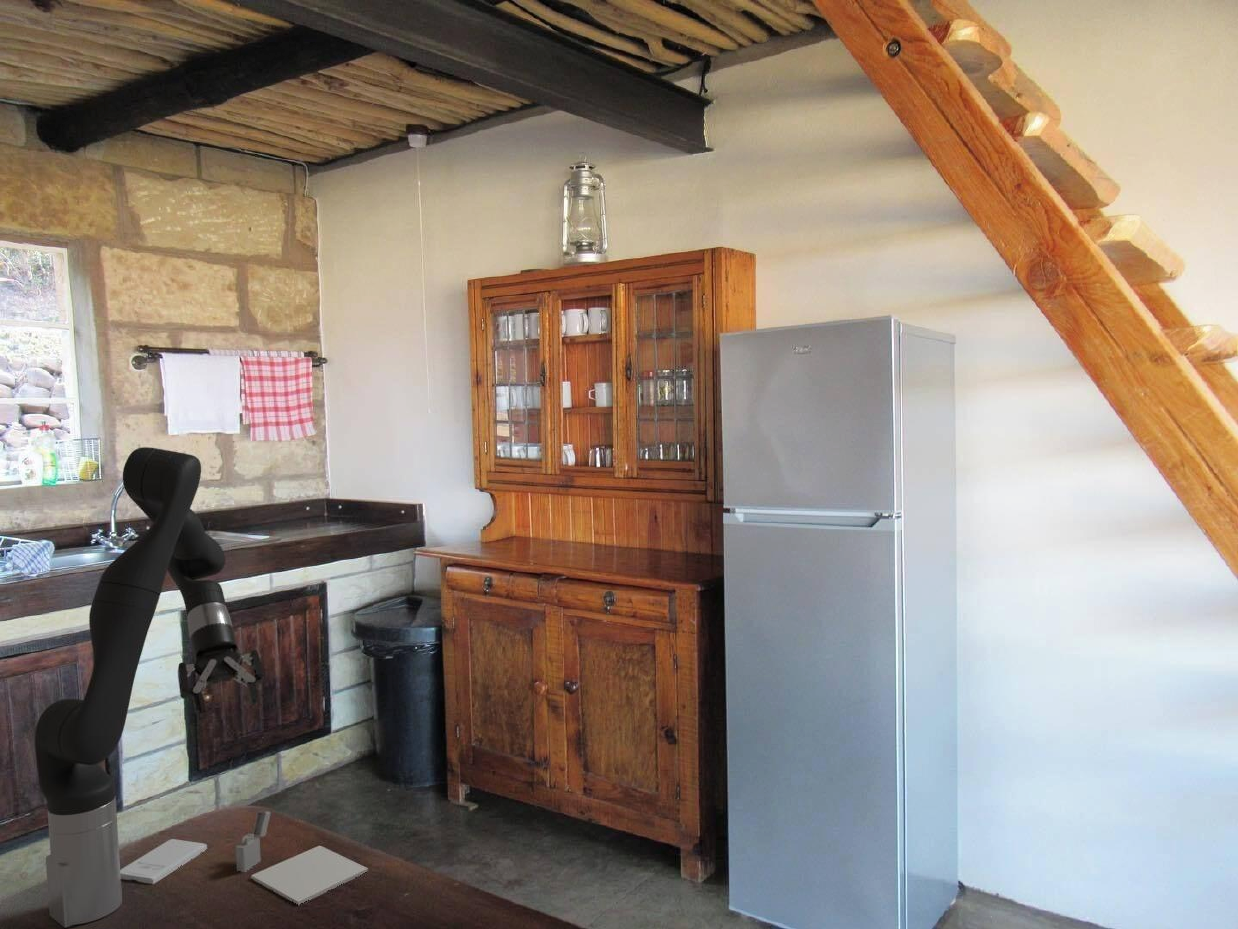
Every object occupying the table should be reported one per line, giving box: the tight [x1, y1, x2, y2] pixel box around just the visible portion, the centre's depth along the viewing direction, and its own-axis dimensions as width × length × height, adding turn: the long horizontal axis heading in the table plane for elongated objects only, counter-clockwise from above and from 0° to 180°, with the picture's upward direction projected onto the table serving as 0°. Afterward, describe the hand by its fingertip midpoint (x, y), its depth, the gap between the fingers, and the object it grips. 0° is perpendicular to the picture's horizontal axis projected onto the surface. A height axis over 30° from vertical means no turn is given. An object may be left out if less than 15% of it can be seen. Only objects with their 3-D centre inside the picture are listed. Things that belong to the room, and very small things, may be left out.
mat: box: [250, 845, 369, 906], centre depth 155 cm, size 13×14×1 cm
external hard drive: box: [120, 838, 208, 885], centre depth 161 cm, size 2×8×12 cm
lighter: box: [235, 810, 271, 873], centre depth 160 cm, size 7×2×8 cm, turn 161°
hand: (228, 709), depth 168 cm, fingers open, 8 cm apart
